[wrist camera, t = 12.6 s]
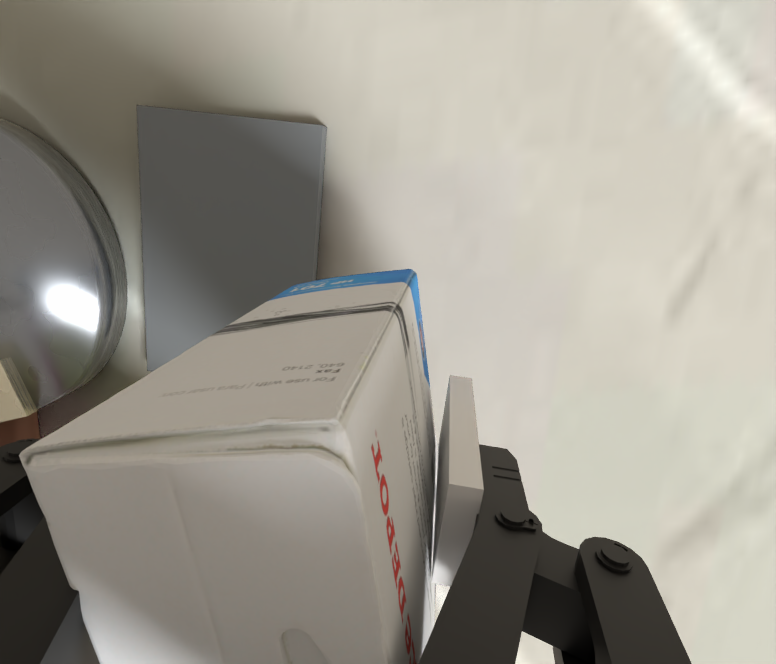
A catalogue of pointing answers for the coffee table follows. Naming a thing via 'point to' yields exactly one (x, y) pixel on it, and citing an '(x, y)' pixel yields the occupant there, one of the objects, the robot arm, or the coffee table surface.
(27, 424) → the brown short block
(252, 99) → the coffee table surface
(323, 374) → the ink box
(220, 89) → the coffee table surface
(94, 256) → the dark pot lid
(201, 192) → the mat
